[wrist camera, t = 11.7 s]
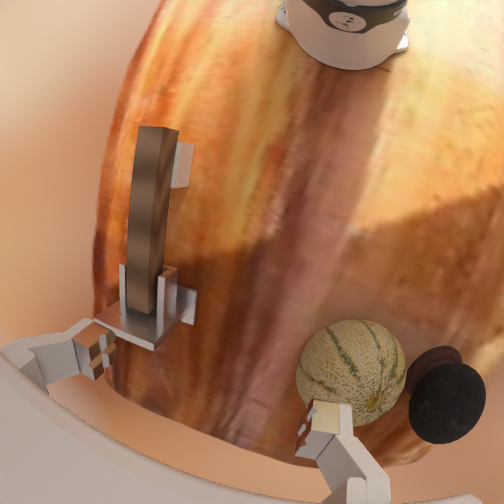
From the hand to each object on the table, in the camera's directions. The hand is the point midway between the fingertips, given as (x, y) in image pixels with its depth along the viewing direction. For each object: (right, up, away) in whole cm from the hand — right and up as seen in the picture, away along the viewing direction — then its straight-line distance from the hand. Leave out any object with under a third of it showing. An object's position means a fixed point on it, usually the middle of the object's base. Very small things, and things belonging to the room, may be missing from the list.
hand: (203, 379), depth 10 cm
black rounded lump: (+33, -16, +28) cm, 46 cm away
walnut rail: (-11, +9, +26) cm, 30 cm away
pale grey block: (-9, +17, +28) cm, 34 cm away
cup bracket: (-12, -1, +34) cm, 36 cm away
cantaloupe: (+16, -9, +30) cm, 35 cm away
